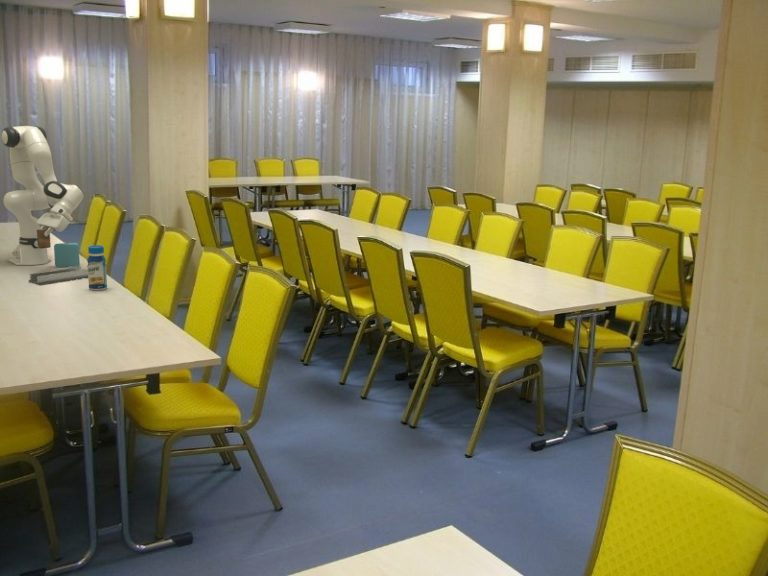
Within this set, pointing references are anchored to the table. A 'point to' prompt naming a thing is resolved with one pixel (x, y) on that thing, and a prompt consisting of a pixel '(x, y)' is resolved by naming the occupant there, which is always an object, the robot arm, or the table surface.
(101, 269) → the beverage bottle
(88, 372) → the table surface
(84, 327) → the table surface
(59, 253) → the data package
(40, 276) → the rail
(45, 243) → the brown rectangular block
